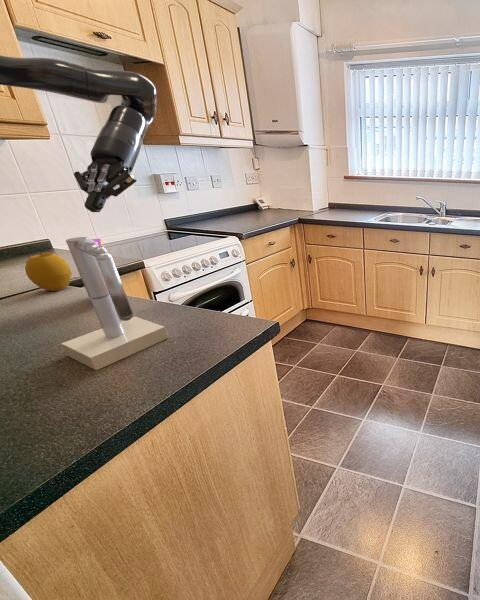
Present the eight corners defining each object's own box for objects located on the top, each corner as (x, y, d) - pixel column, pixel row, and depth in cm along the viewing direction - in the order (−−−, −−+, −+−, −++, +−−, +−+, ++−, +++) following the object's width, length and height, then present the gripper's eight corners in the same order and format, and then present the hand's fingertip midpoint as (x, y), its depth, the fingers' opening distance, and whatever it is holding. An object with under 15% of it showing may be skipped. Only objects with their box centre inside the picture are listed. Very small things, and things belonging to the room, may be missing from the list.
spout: (91, 306, 69) (63, 239, 64) (109, 301, 72) (84, 236, 66) (119, 325, 62) (90, 250, 56) (139, 318, 64) (113, 246, 59)
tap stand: (96, 370, 66) (71, 315, 61) (66, 355, 71) (41, 303, 66) (168, 338, 77) (152, 289, 72) (138, 327, 82) (122, 281, 77)
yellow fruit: (48, 285, 108) (31, 250, 104) (84, 282, 111) (69, 247, 106) (27, 296, 100) (8, 258, 95) (67, 292, 103) (51, 255, 98)
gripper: (157, 159, 81) (135, 220, 75) (104, 160, 82) (78, 220, 75) (133, 134, 74) (107, 198, 68) (75, 134, 75) (44, 198, 68)
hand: (91, 209), depth 72 cm, fingers closed
